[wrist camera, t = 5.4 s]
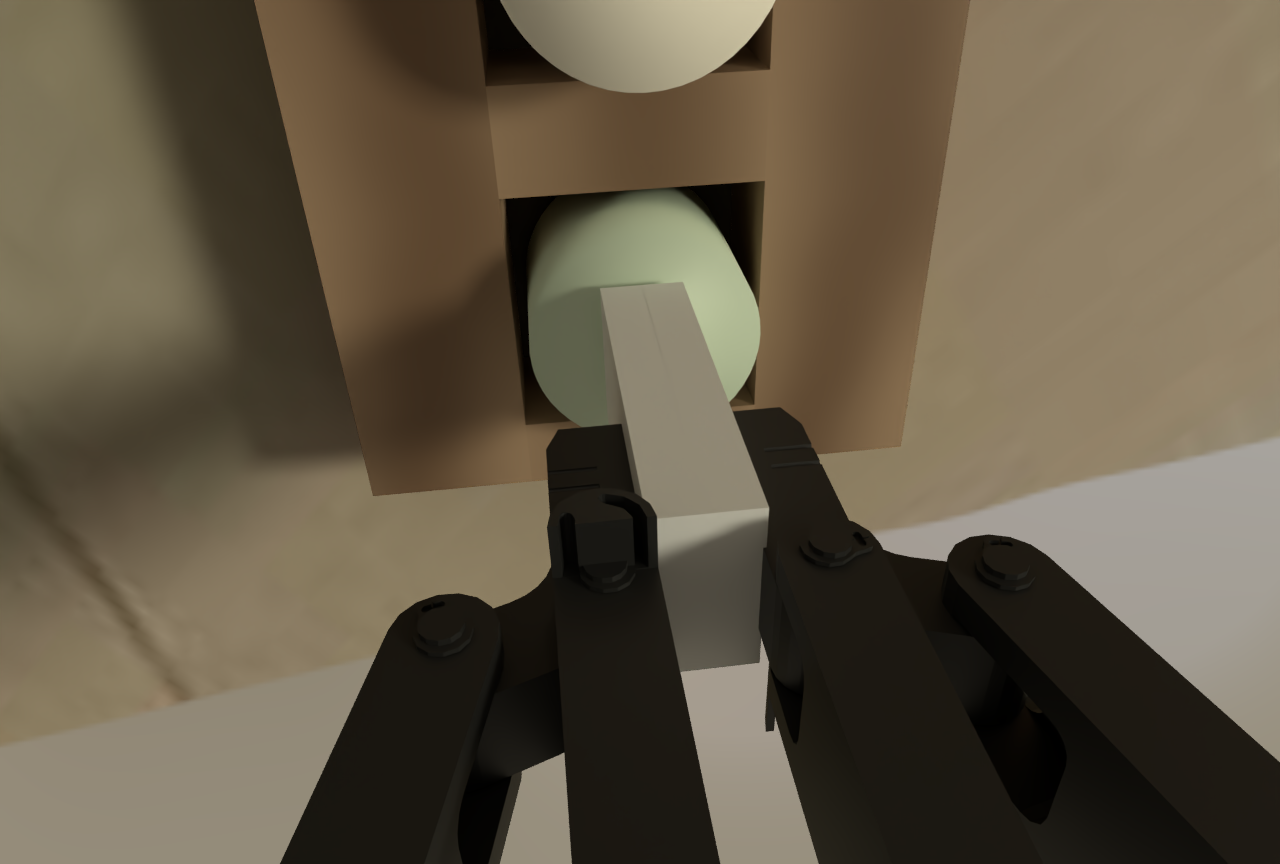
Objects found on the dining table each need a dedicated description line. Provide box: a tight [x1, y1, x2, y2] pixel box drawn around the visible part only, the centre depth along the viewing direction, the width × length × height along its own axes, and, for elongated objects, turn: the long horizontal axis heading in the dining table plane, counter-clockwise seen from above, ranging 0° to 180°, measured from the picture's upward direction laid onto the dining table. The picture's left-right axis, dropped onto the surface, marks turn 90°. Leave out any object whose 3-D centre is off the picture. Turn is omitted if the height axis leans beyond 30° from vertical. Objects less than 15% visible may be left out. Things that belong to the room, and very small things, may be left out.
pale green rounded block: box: [526, 186, 760, 427], centre depth 19 cm, size 4×4×4 cm
